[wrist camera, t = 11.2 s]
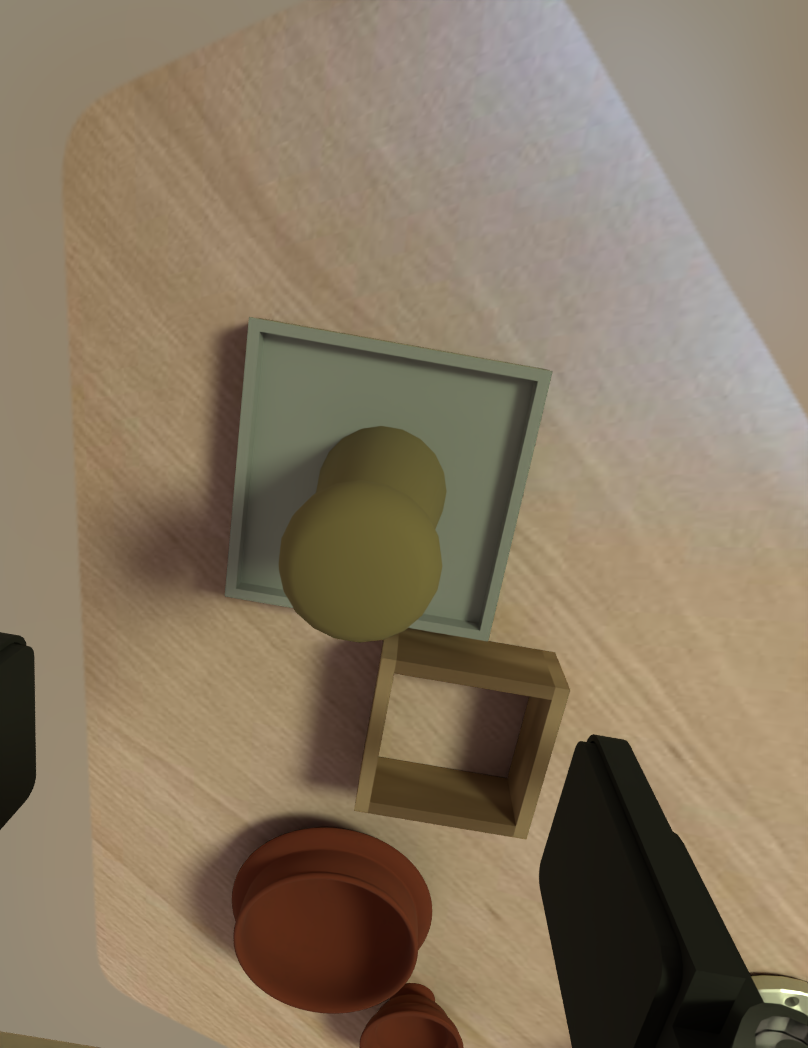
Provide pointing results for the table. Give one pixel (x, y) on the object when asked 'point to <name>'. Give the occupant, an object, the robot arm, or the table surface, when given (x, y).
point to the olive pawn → (367, 537)
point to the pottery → (340, 933)
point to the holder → (454, 791)
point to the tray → (393, 401)
